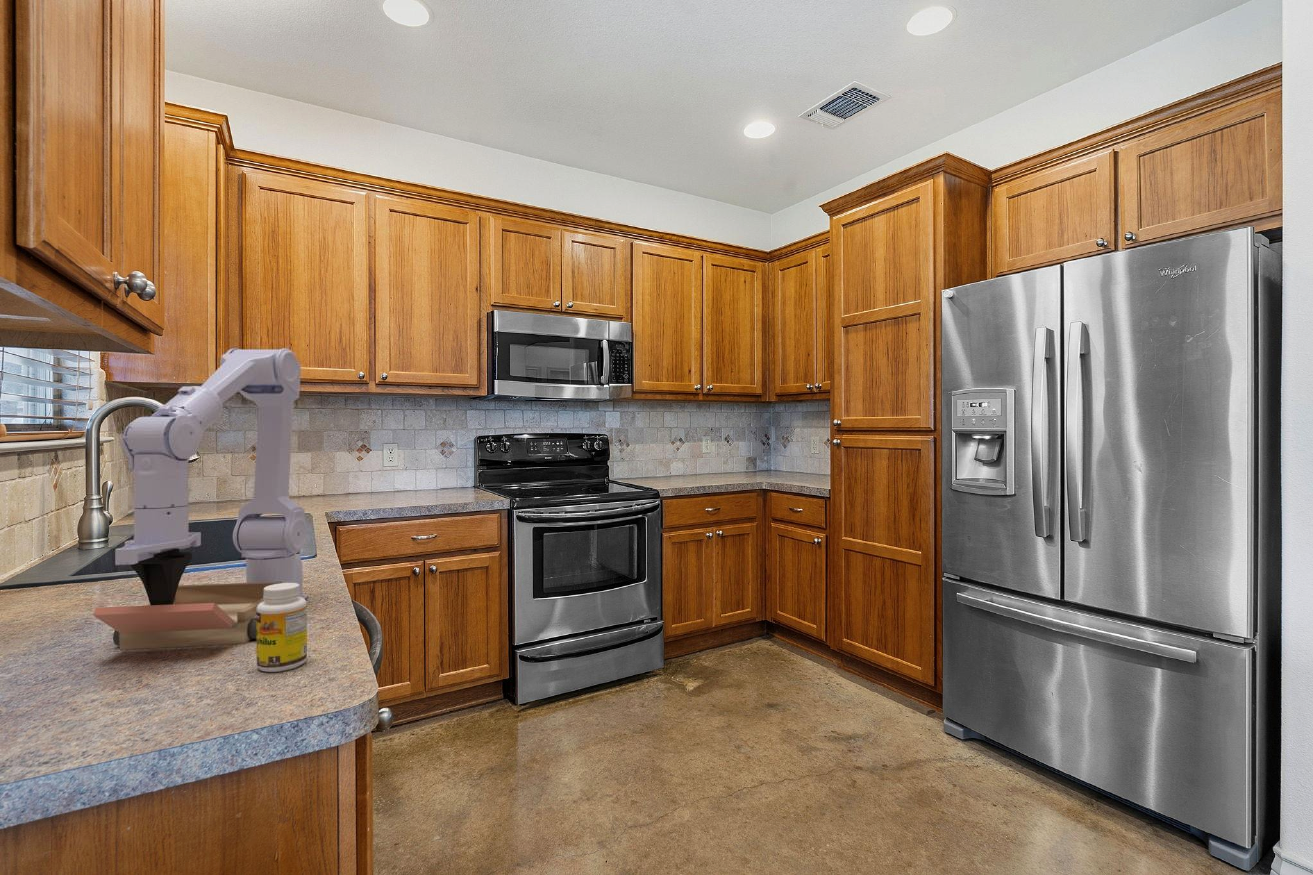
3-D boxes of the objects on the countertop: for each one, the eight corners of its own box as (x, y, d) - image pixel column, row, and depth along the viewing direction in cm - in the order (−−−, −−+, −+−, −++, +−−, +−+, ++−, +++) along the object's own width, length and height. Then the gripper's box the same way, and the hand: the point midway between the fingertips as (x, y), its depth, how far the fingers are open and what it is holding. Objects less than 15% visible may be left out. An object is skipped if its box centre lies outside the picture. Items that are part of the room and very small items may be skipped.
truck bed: (164, 624, 99) (164, 585, 99) (289, 618, 102) (289, 581, 102) (110, 650, 87) (110, 606, 87) (253, 643, 90) (253, 600, 90)
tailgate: (123, 627, 87) (94, 607, 82) (237, 622, 89) (216, 602, 84) (120, 634, 86) (90, 615, 81) (235, 629, 88) (213, 610, 83)
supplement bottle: (247, 668, 80) (246, 588, 80) (291, 655, 85) (290, 579, 85) (272, 677, 77) (271, 593, 77) (316, 662, 82) (315, 583, 82)
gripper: (162, 502, 90) (162, 597, 90) (87, 513, 76) (87, 626, 76) (216, 501, 91) (216, 595, 91) (151, 512, 77) (151, 623, 77)
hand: (161, 609), depth 84 cm, fingers closed, pressing on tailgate
